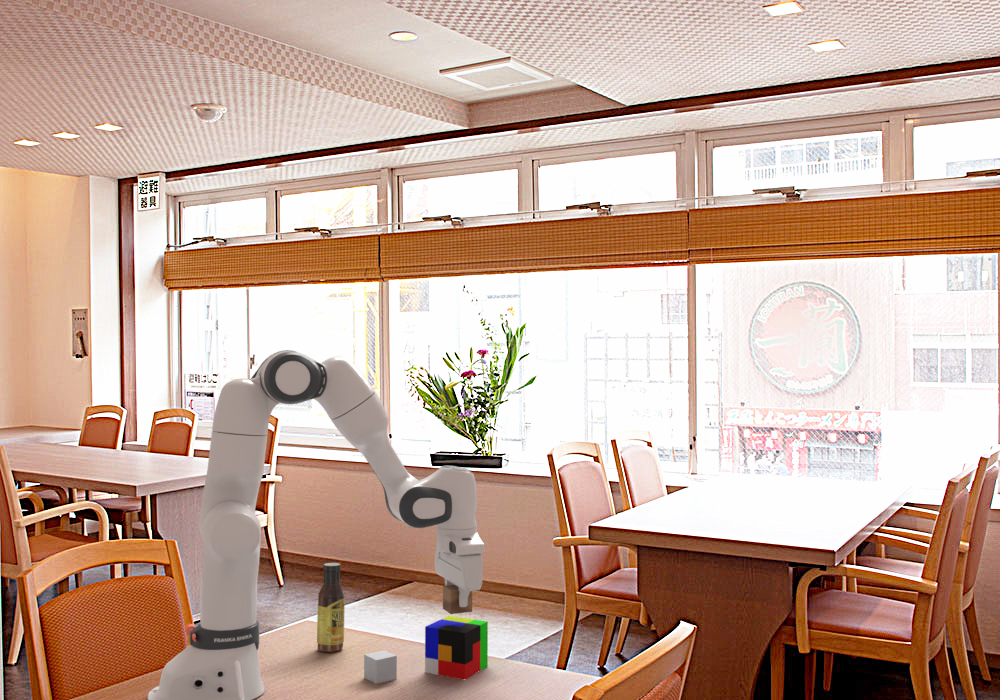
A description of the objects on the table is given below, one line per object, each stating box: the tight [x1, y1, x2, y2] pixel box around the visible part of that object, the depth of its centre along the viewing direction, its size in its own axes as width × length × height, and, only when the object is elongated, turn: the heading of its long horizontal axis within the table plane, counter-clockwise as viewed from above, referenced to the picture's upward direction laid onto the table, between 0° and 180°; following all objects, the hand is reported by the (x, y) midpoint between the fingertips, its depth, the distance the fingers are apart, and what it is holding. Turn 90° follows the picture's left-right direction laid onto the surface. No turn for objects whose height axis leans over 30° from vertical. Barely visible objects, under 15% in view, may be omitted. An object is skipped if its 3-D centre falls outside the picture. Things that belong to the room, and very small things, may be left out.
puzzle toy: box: [424, 615, 489, 680], centre depth 208 cm, size 10×10×10 cm
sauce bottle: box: [316, 562, 346, 653], centre depth 222 cm, size 6×6×20 cm
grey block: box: [363, 649, 398, 685], centre depth 202 cm, size 5×5×5 cm
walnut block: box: [442, 585, 473, 615], centre depth 208 cm, size 5×5×5 cm
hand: (457, 602), depth 208 cm, fingers closed on walnut block, 5 cm apart
